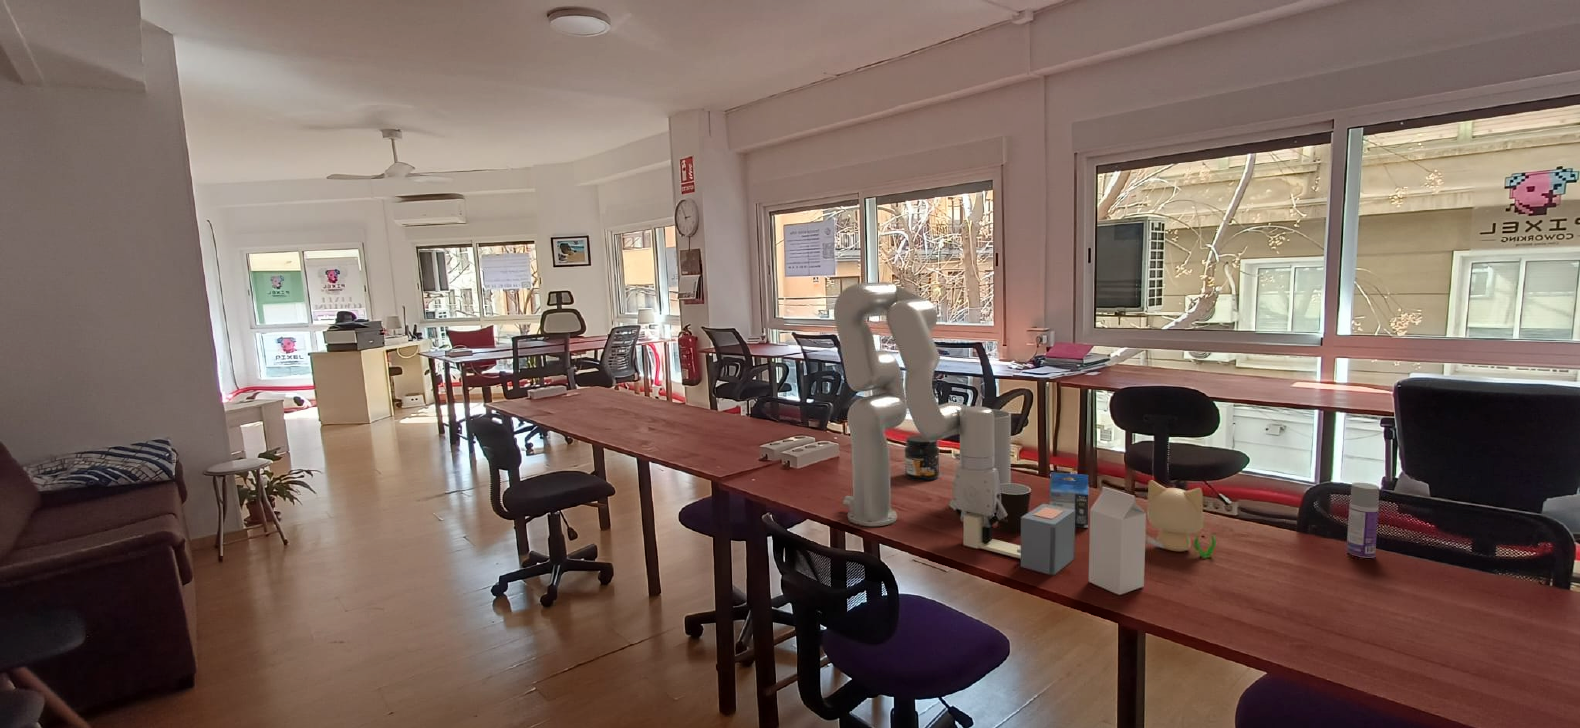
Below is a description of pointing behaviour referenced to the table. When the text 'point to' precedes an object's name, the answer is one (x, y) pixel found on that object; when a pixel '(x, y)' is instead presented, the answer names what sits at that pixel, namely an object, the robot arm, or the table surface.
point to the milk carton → (1117, 542)
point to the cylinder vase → (1002, 445)
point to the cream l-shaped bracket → (974, 537)
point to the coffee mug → (1013, 506)
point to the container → (1363, 520)
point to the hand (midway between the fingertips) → (977, 539)
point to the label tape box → (1071, 495)
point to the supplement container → (921, 458)
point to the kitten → (1176, 517)
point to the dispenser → (1047, 539)
